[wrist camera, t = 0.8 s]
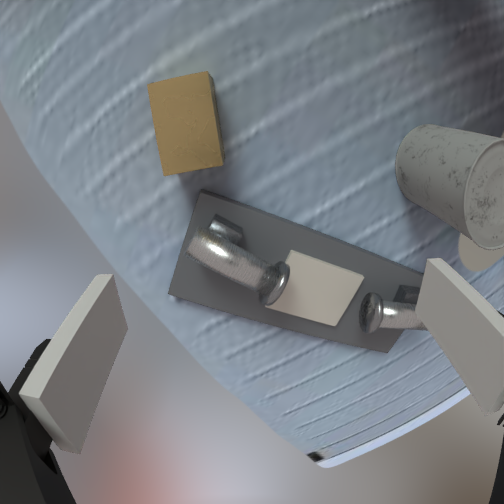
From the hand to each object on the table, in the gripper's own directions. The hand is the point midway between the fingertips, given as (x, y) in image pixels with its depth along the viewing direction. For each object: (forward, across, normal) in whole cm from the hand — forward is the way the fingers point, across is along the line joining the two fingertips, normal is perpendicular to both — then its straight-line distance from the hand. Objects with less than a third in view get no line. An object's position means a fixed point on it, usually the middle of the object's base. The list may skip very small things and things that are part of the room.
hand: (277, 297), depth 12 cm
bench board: (+20, +6, -12) cm, 24 cm away
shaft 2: (+19, +16, -14) cm, 28 cm away
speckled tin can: (+21, +20, +2) cm, 29 cm away
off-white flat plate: (+19, +6, -12) cm, 23 cm away
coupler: (+20, -6, +6) cm, 22 cm away
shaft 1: (+19, -2, -6) cm, 20 cm away
